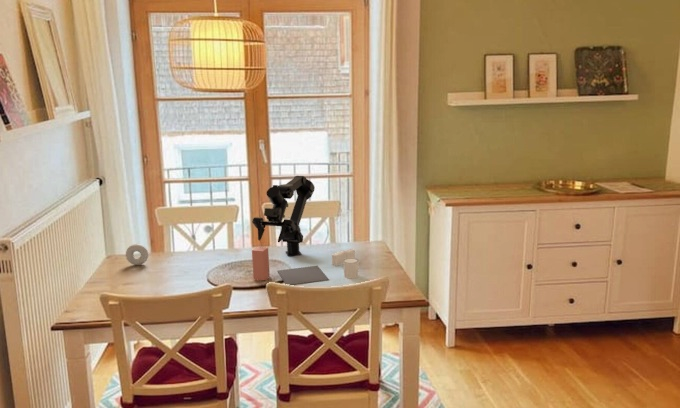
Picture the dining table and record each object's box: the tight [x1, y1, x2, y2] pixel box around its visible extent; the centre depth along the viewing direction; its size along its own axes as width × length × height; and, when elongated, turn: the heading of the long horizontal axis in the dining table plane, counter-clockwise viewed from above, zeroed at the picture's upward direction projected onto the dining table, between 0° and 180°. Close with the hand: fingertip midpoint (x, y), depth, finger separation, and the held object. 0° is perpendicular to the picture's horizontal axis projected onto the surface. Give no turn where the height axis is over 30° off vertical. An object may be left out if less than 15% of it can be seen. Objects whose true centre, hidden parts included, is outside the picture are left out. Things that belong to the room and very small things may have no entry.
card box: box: [251, 246, 270, 281], centre depth 244 cm, size 5×5×13 cm
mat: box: [277, 265, 330, 286], centre depth 248 cm, size 18×18×1 cm
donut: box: [125, 243, 149, 266], centre depth 265 cm, size 10×3×10 cm, turn 95°
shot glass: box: [342, 257, 360, 280], centre depth 245 cm, size 7×7×7 cm
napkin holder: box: [331, 248, 356, 267], centre depth 263 cm, size 15×11×6 cm
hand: (268, 241), depth 250 cm, fingers open, 9 cm apart
